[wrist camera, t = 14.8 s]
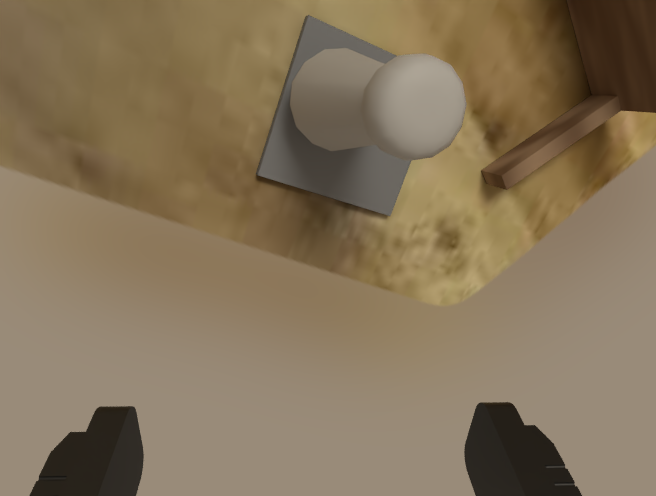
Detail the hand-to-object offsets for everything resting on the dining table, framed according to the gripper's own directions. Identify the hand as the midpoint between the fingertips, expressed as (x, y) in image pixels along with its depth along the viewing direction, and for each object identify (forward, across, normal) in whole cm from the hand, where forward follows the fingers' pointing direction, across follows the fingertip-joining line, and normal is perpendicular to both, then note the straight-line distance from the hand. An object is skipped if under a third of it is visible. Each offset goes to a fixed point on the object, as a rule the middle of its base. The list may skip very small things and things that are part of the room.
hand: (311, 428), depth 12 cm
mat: (+24, +4, 0) cm, 25 cm away
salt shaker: (+24, +2, +2) cm, 24 cm away
